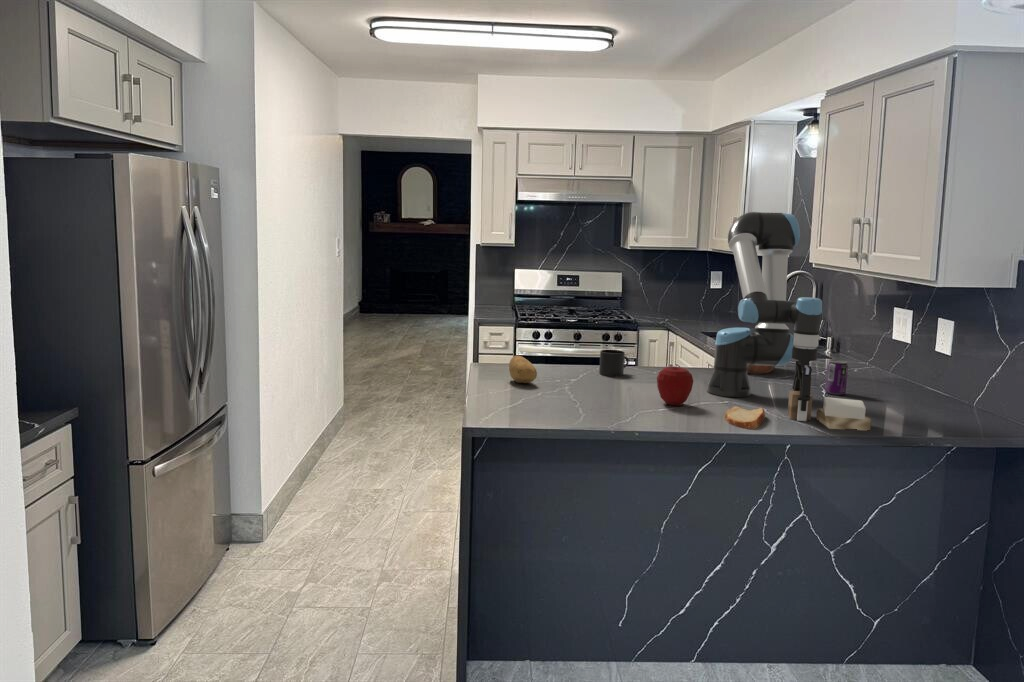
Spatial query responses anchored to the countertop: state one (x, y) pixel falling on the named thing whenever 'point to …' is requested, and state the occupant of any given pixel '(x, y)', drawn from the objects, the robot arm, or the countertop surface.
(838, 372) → the beverage can
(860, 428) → the tower base
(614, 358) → the mug
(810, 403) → the walnut block
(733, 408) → the slice of bread
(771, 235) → the robot arm
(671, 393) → the apple
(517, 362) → the potato
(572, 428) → the countertop surface
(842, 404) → the tower top
